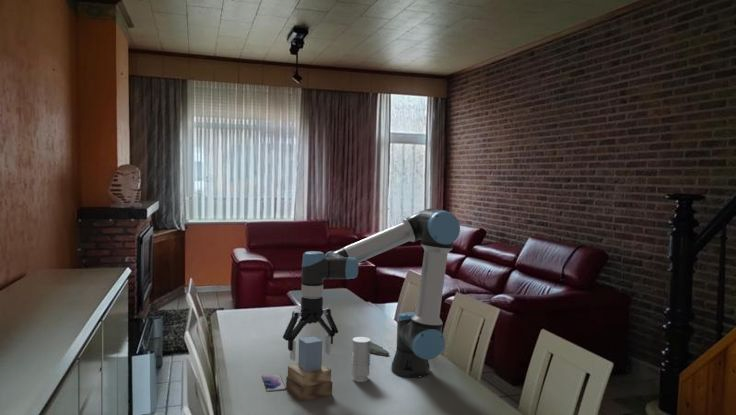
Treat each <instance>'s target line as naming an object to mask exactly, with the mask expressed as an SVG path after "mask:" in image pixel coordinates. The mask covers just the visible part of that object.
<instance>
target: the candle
mask: <svg viewBox="0 0 736 415" xmlns="http://www.w3.org/2000/svg"><path fill="white" fill-rule="evenodd" d="M352 342H353V343H352V353H351V375H353V376H352V381H353V382H358V383H363V382H364V383H365V382H367V381H368V380H369V377H368V376H369V375H370V365H371V353H370V352H369V349H370V342H371V338H369V337H367V336H355V337H353V338H352Z"/></svg>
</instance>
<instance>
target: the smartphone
mask: <svg viewBox="0 0 736 415" xmlns="http://www.w3.org/2000/svg"><path fill="white" fill-rule="evenodd" d="M261 380H262V384H263V383H264V384H263V386H264V389H265V392H267V393H270V392H280V391H282V392H283V391H287V389H286V384H285V383H284V381H283V378H282V375H281V374H280V373H273V374H263V375H261Z"/></svg>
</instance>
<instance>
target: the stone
mask: <svg viewBox="0 0 736 415" xmlns="http://www.w3.org/2000/svg"><path fill="white" fill-rule="evenodd" d="M369 353H370V354H373V355H378V356H381V355H383V356H382V357H388V356H389V354H390V353H389V351H387V350H386V349H384V347H382V346H380V345H378V344H377V343H374V342H372V341H370V349H369ZM387 355H388V356H387Z"/></svg>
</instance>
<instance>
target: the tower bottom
mask: <svg viewBox="0 0 736 415" xmlns="http://www.w3.org/2000/svg"><path fill="white" fill-rule="evenodd" d="M285 381H286V382H285V387H286V391H287V392H289V393H290V394H291V396H293V397H294V398H295V399H297V400H298V401H299V402H300V403H301V402H305V401H311V400H315V399H319V398H324V397H328V396H329V397H330V396H332V395H333V381H332V380H331V381H329V382H325V383H321V384H317V385H312V386H308V387H304V388H303V387H301V386H300V385H298V384H297V383H295V382H294V381H293V380H291V379H290V378H288V375H287V376H286V379H285Z"/></svg>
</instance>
